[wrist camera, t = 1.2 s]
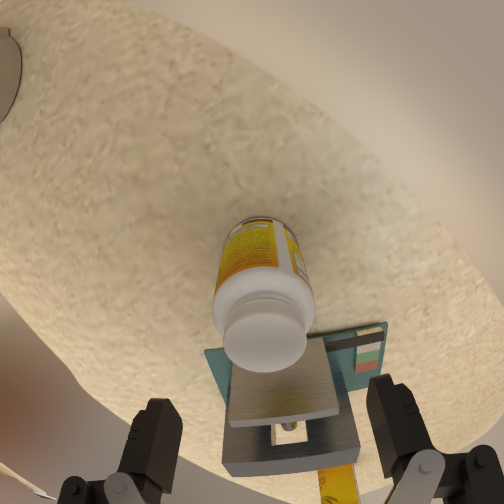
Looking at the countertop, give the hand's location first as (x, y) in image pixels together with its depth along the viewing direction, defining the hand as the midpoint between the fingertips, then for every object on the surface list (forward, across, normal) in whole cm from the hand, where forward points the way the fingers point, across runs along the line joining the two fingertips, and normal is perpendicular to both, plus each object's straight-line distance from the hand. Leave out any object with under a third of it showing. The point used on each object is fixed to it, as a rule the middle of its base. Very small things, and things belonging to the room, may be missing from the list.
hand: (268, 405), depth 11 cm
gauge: (+14, -2, +14) cm, 20 cm away
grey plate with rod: (+13, -3, +13) cm, 18 cm away
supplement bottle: (+14, 0, 0) cm, 14 cm away
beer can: (+14, -6, +41) cm, 44 cm away
